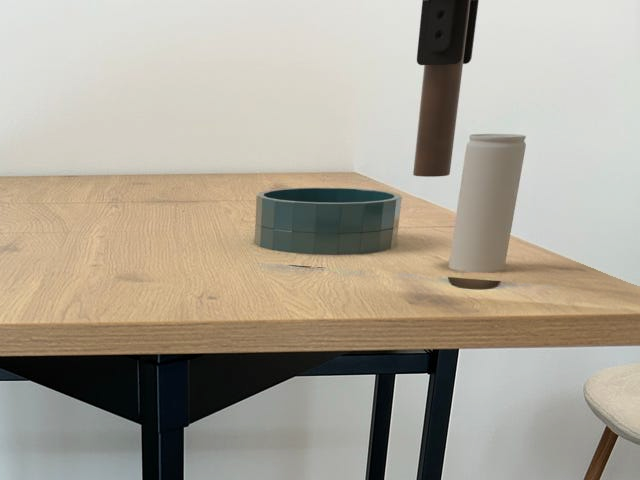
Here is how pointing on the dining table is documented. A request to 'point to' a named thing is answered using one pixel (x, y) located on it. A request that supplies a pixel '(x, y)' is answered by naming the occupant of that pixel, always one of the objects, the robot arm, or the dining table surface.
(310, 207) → the bowl
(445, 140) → the stick
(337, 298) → the dining table surface
